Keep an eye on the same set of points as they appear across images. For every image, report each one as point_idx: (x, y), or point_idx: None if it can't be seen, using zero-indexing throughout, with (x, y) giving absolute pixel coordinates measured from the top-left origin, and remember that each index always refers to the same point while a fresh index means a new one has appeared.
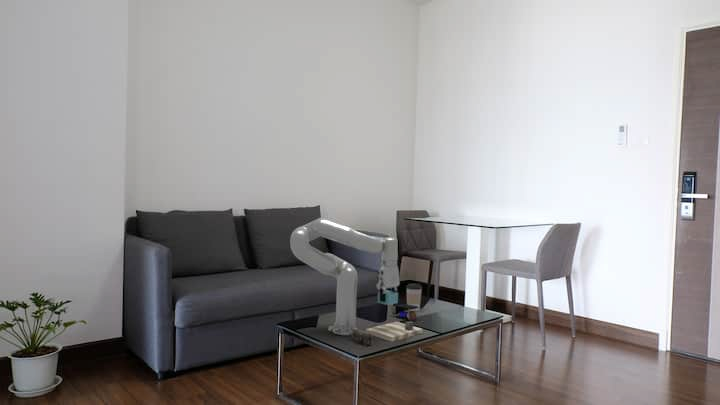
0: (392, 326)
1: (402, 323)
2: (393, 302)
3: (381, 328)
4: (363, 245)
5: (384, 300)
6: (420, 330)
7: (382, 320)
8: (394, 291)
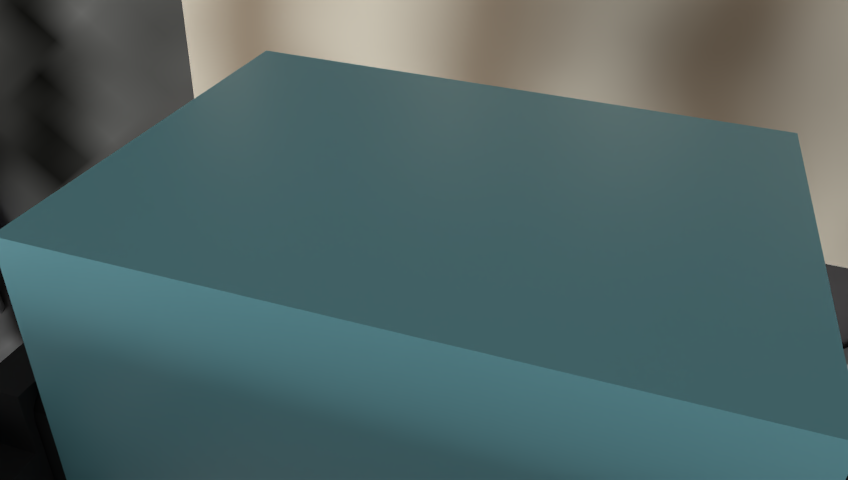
0: (428, 42)
1: (187, 25)
2: (470, 107)
3: (660, 108)
4: None
5: None
6: None
7: None
8: (19, 449)
